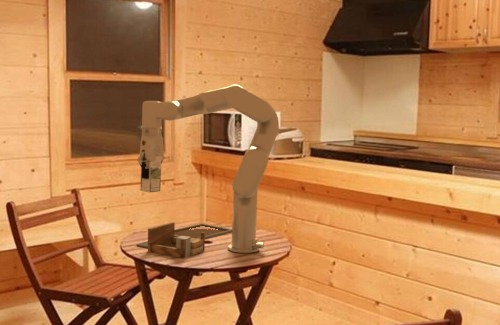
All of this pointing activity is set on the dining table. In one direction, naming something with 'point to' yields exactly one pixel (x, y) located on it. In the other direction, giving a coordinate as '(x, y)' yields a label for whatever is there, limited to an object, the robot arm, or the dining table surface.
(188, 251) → the offcut block
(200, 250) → the offcut slab
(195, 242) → the offcut slab
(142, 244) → the mat
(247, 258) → the dining table surface
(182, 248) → the brown wooden open box
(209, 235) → the brown framed board
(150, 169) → the syrup box
